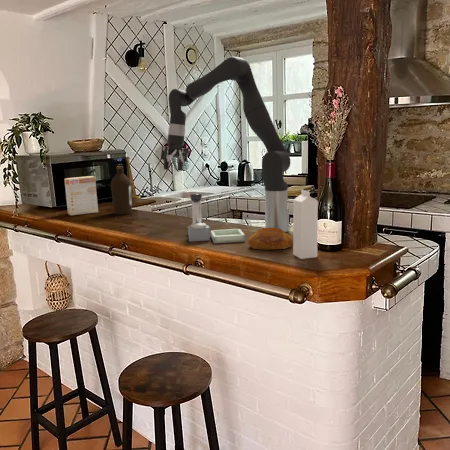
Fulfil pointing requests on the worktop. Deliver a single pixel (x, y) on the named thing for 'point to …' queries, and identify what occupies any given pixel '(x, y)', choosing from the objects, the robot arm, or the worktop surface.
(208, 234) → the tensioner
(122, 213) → the olive oil
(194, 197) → the lock pin
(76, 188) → the coffeecake box
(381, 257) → the worktop surface
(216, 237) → the tray
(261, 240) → the bread loaf
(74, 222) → the worktop surface
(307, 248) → the milk
